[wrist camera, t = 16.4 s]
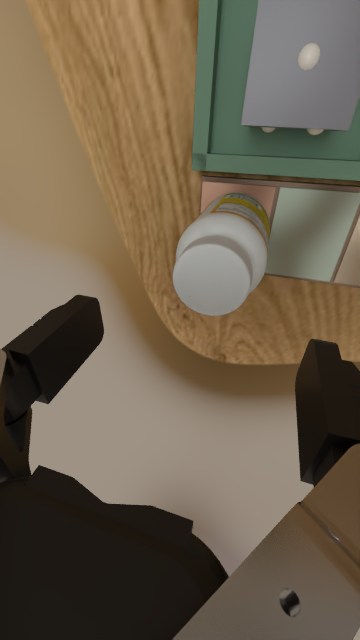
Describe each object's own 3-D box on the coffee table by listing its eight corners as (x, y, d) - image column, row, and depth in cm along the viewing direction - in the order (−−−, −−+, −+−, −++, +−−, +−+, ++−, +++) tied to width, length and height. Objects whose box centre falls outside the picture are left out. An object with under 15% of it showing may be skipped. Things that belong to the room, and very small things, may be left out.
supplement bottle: (257, 177, 19) (245, 207, 11) (278, 248, 21) (281, 313, 13) (189, 209, 21) (141, 252, 14) (214, 270, 23) (186, 335, 16)
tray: (475, -74, 12) (502, -102, 11) (375, 178, 18) (384, 182, 16) (209, -45, 15) (202, -65, 13) (197, 167, 20) (191, 169, 19)
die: (372, 10, 14) (414, -43, 10) (333, 136, 17) (353, 137, 13) (266, 14, 15) (262, -33, 11) (247, 131, 18) (239, 130, 14)
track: (461, 192, 17) (469, 195, 16) (404, 290, 21) (409, 296, 20) (203, 175, 20) (200, 177, 20) (197, 262, 24) (195, 266, 24)
